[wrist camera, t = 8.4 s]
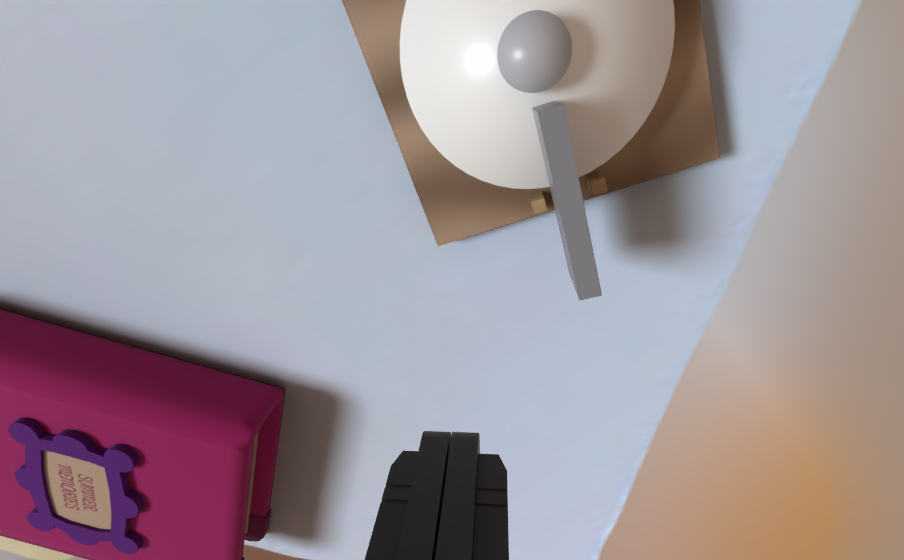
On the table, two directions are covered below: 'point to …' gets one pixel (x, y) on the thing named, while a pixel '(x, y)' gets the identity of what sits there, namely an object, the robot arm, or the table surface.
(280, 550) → the table surface
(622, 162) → the level stand
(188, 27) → the table surface
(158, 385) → the book
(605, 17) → the dial
